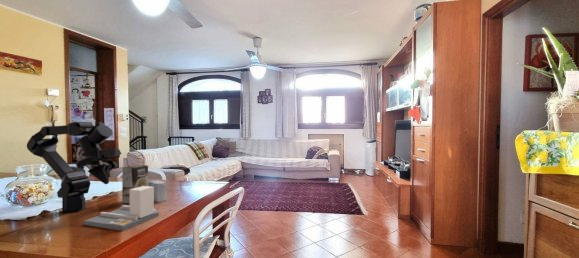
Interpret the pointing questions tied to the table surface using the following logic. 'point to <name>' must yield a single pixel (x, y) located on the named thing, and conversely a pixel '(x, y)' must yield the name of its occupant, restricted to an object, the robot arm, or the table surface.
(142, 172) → the coffee box
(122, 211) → the switch board
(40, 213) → the table surface
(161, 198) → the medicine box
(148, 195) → the toggle
